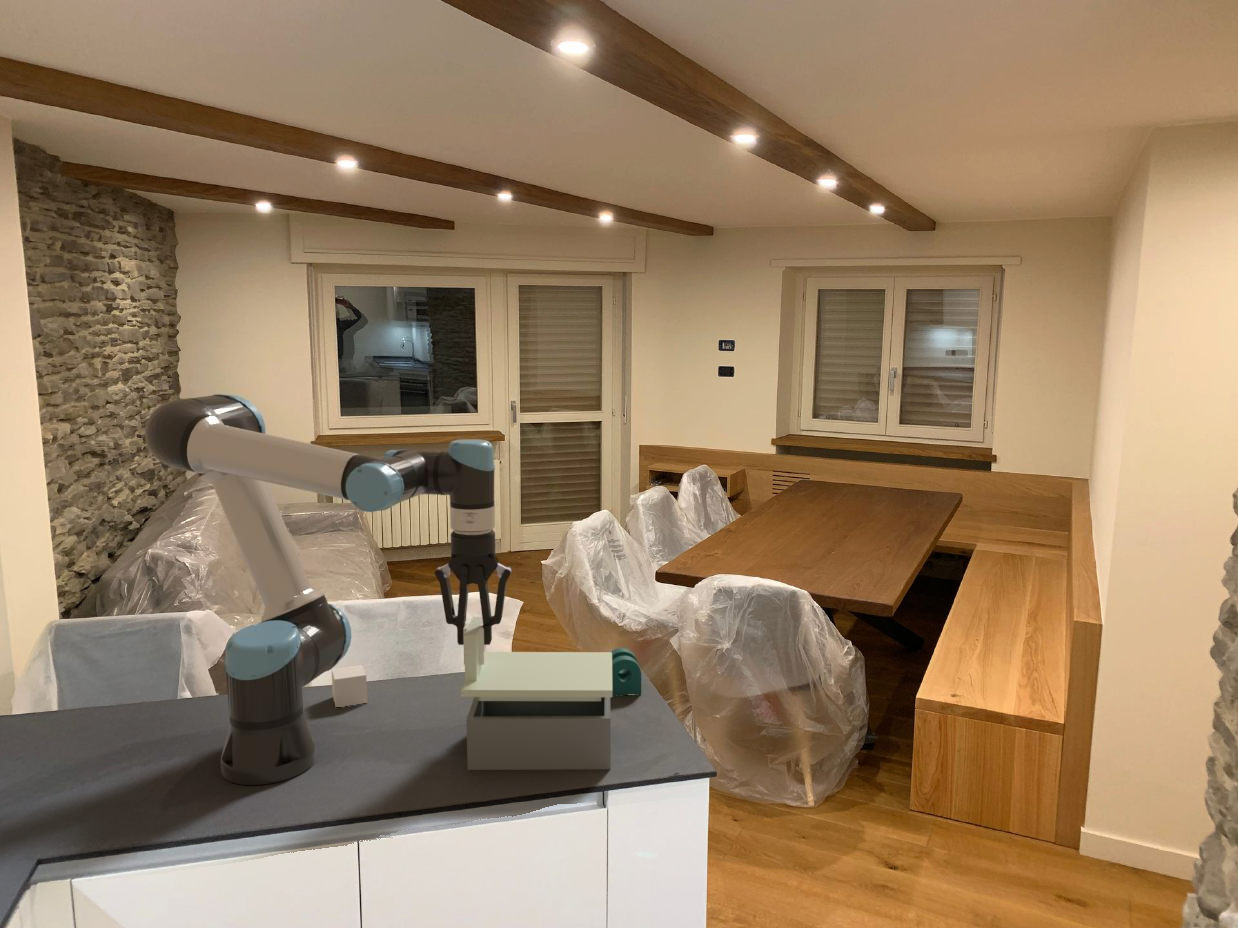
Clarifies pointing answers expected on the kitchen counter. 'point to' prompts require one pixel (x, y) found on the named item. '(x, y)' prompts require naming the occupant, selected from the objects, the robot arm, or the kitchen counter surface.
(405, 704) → the kitchen counter surface
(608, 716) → the tub
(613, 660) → the bracket
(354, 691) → the white cube
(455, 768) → the kitchen counter surface
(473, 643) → the pale green l-shaped plate
